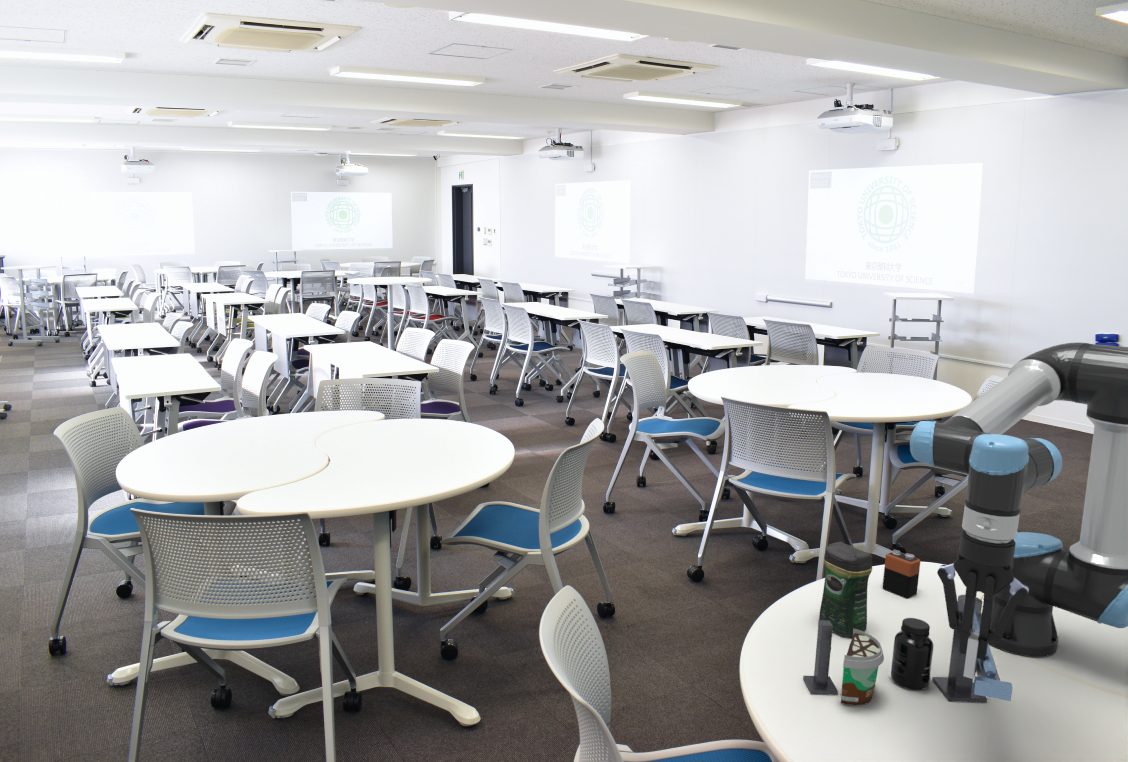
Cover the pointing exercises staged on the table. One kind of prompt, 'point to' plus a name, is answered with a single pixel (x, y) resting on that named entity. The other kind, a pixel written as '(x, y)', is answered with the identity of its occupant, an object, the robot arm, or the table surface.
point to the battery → (901, 574)
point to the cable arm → (985, 663)
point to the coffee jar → (845, 588)
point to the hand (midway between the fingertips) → (969, 673)
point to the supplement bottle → (912, 655)
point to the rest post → (822, 663)
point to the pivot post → (957, 678)
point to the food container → (861, 669)
